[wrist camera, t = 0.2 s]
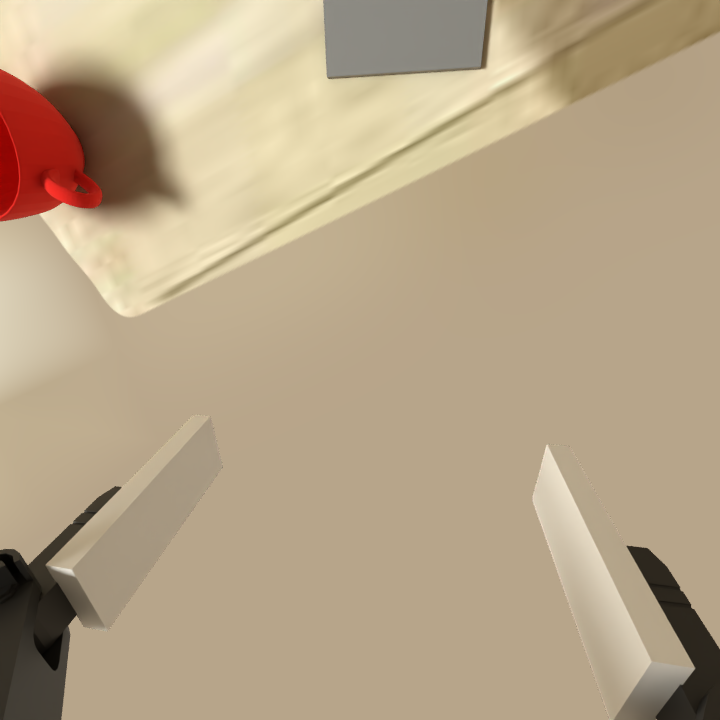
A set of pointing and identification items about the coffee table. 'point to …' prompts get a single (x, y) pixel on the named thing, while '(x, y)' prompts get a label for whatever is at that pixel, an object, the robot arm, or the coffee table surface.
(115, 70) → the coffee table surface
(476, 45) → the coaster
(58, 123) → the ceramic cup
